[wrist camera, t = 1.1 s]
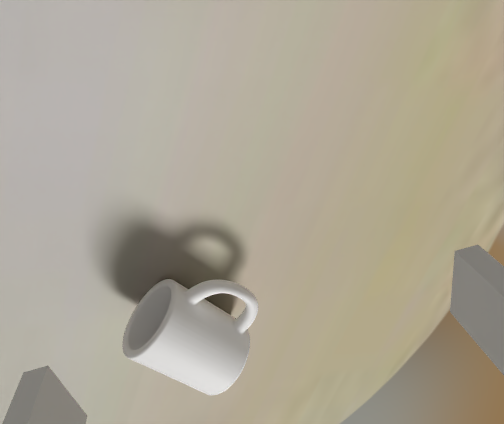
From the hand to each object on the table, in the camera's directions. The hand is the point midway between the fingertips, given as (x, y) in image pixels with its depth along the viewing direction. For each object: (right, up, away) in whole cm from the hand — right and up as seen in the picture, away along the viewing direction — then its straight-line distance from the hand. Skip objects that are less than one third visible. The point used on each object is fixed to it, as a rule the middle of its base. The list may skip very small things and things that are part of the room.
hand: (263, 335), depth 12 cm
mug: (-6, -5, +29) cm, 30 cm away
